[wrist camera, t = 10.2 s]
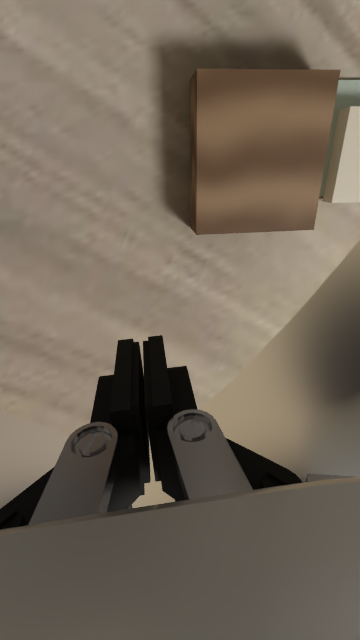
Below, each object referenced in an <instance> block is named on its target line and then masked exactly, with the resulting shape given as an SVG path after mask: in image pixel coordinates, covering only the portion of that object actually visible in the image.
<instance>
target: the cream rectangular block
mask: <svg viewBox="0 0 360 640" xmlns="http://www.w3.org/2000/svg"><path fill="white" fill-rule="evenodd" d="M322 201H325V202H330V203H350V202H360V106H350V107H346V108H342V109H339V112H338V118H337V123H336V129H335V134H334V140H333V145H332V151H331V156H330V162H329V167H328V173H327V178H326V184H325V189H324V195H323V200H322Z"/></svg>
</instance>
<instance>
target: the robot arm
mask: <svg viewBox="0 0 360 640" xmlns="http://www.w3.org/2000/svg"><path fill="white" fill-rule="evenodd" d="M143 357H144V375H143V368H142V361H141V354H140V346H139V342H133V339H126V340H118V346H117V354H116V362H115V371H114V375H108V376H100V377H99V380H98V385H97V390H96V395H95V401H94V406H93V411H92V416H91V421H90V423H89V424H86V425H83V426H82V427H80V428H78V429H77V430H75V431H74V432H73V433H72V434H71V435H70V436H69V438H68V439H67V441H66V443H65V445H64V448H63V450H62V452H61V454H60V456H59V459H58V461H57V463H56V465H55V467H54V468H52V469H51V470H50V471H49V472H47V473H46V474H45V475H43V476H42V477H41V478H40V479H38V480H37V481H36V482H35V483H33V484H32V485H31V486H29V487H28V488H27V489H26V490H24V491H23V492H22V493H21V494H19V495H18V496H17V497H15V498H14V499H13V500H11V501H10V502H9V503H8V504H6V505H5V506H4V507H2V508H1V509H0V640H360V477H355V476H338V475H322V474H307V475H306V478H299V477H298V476H297V475H296V474H294V473H293V472H291V471H289V470H288V469H286V468H284V467H282V466H280V465H278V464H276V463H274V462H273V461H271V460H269V459H267V458H265V457H263V456H261V455H259V454H257V453H255V452H253V451H251V450H249V449H247V448H245V447H243V446H241V445H239V444H237V443H235V442H233V441H231V440H229V439H227V438H225V437H224V435H223V433H222V431H221V429H220V427H219V425H218V423H217V422H216V420H215V419H214V417H213V416H212V415H210V414H209V413H207V412H204V411H202V410H197V406H196V402H195V398H194V394H193V390H192V386H191V382H190V378H189V374H188V370H187V367H186V366H181V367H173V368H167V364H166V357H165V350H164V344H163V337H162V335H161V336H152V337H148V341H143ZM149 440H150V446H151V453H152V460H153V467H154V474H155V481H161V483H162V490H163V491H164V492H165V493H167V494H168V495H170V496H171V497H172V498H174V499H175V502H171V503H165V504H158V505H152V506H146V507H139V508H132V504H133V502H134V501H135V500H136V499H137V498H138V497H139V496H140V495H144V483H149V482H150V457H149Z"/></svg>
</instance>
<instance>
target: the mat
mask: <svg viewBox="0 0 360 640" xmlns="http://www.w3.org/2000/svg"><path fill="white" fill-rule="evenodd" d="M350 106H360V80H339V81H338V87H337V93H336V99H335V105H334V111H333V117H332V123H331V129H330V135H329V141H328V147H327V153H326V159H325V165H324V171H323V177H322V183H321V189H320V195H319V197H323V195H324V189H325V184H326V178H327V173H328V167H329V162H330V156H331V151H332V145H333V140H334V134H335V129H336V123H337V118H338V112H339V109H342V108H346V107H350Z"/></svg>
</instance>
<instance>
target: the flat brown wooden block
mask: <svg viewBox="0 0 360 640" xmlns="http://www.w3.org/2000/svg"><path fill="white" fill-rule="evenodd" d="M339 75H340V70H303V69H197V70H196V71H195V73H194V75H193V76H192V78H191V79H190V148H191V229H192V230H193V231H194V232H195V234H196V235H202V234H225V233H248V232H271V231H294V230H314V224H315V218H316V212H317V206H318V200H319V195H320V189H321V183H322V177H323V171H324V165H325V159H326V153H327V147H328V141H329V135H330V129H331V123H332V117H333V111H334V105H335V99H336V93H337V87H338V81H339Z"/></svg>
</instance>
